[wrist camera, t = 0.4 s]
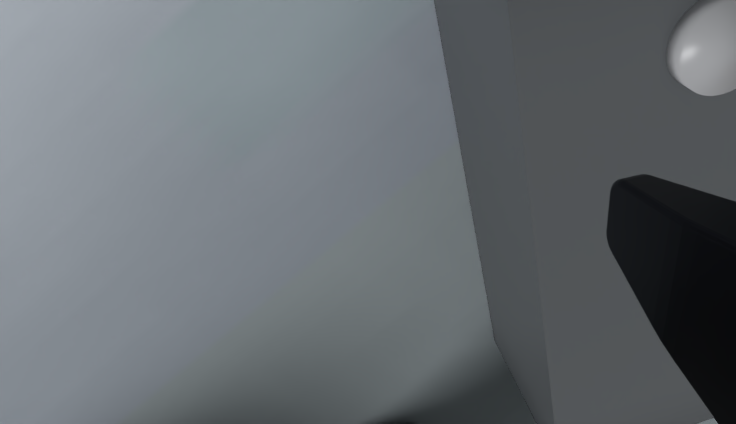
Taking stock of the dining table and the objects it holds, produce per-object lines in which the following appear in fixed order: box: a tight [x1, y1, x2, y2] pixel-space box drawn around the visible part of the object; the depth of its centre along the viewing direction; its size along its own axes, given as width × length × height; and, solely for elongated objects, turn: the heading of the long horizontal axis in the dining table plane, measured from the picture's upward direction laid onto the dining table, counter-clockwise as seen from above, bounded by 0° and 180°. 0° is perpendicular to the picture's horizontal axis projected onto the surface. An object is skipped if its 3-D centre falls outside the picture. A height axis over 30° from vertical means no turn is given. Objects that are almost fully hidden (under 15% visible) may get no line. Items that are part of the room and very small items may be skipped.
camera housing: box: [434, 0, 736, 424], centre depth 21 cm, size 22×10×8 cm, turn 14°
